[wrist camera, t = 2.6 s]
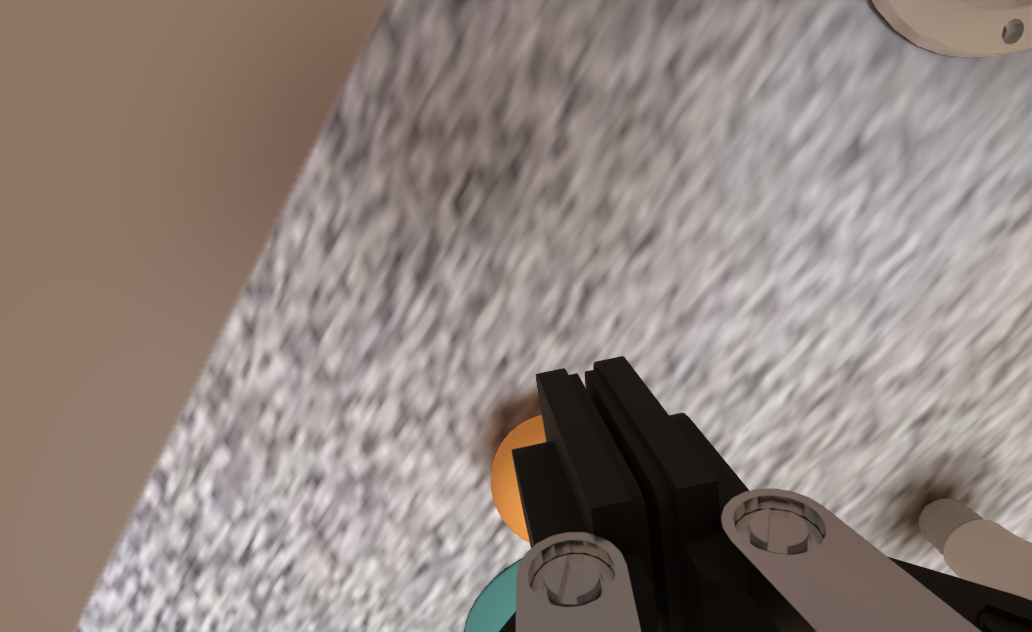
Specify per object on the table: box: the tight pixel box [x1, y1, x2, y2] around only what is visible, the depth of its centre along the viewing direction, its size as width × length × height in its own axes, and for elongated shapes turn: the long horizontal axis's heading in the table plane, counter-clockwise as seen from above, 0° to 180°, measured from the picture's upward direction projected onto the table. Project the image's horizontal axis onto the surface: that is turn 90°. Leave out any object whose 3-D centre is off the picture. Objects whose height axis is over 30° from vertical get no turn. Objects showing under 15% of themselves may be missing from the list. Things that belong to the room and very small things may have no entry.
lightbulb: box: [918, 499, 1032, 600], centre depth 27 cm, size 6×6×11 cm
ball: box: [491, 415, 546, 543], centre depth 25 cm, size 6×6×6 cm
